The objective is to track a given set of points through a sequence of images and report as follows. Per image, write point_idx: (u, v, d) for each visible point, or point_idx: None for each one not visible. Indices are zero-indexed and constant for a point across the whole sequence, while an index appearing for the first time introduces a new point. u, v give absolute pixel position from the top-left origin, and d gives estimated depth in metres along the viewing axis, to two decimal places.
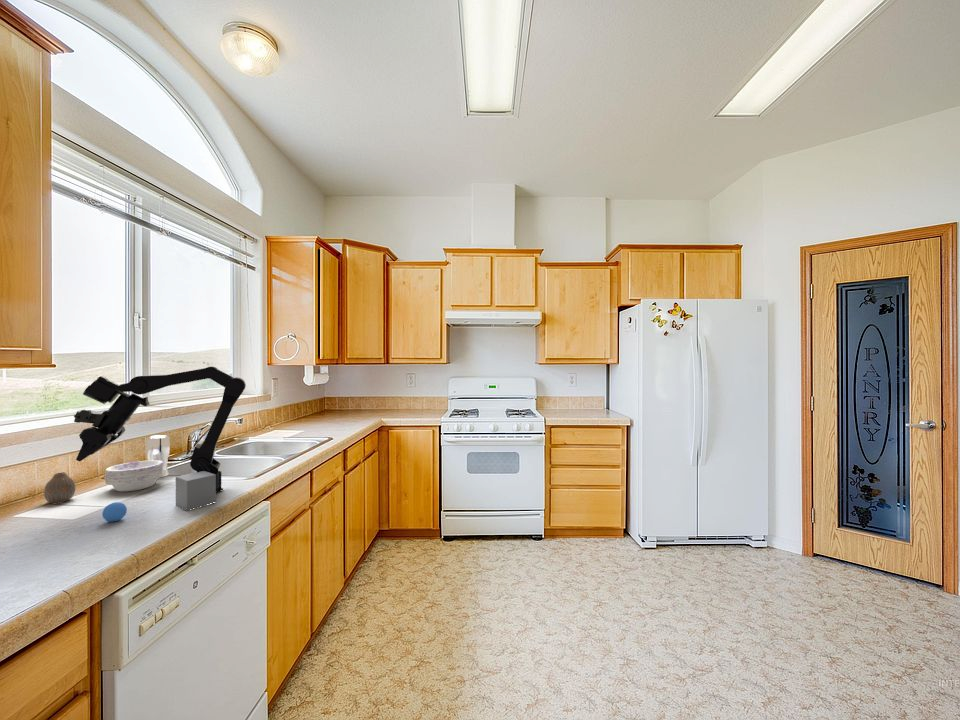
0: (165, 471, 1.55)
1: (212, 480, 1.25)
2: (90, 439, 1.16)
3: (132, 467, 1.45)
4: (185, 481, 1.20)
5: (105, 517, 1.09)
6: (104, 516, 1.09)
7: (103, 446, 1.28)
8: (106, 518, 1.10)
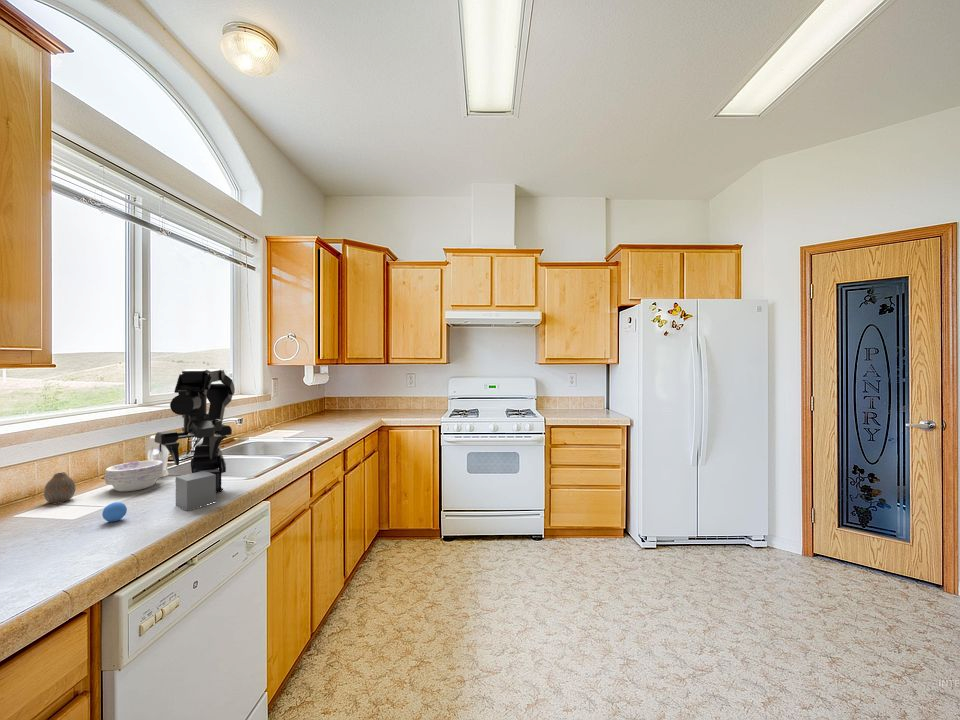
0: (165, 471, 1.55)
1: (212, 480, 1.25)
2: None
3: (132, 467, 1.45)
4: (185, 481, 1.20)
5: (105, 517, 1.09)
6: (104, 516, 1.09)
7: None
8: (106, 518, 1.10)
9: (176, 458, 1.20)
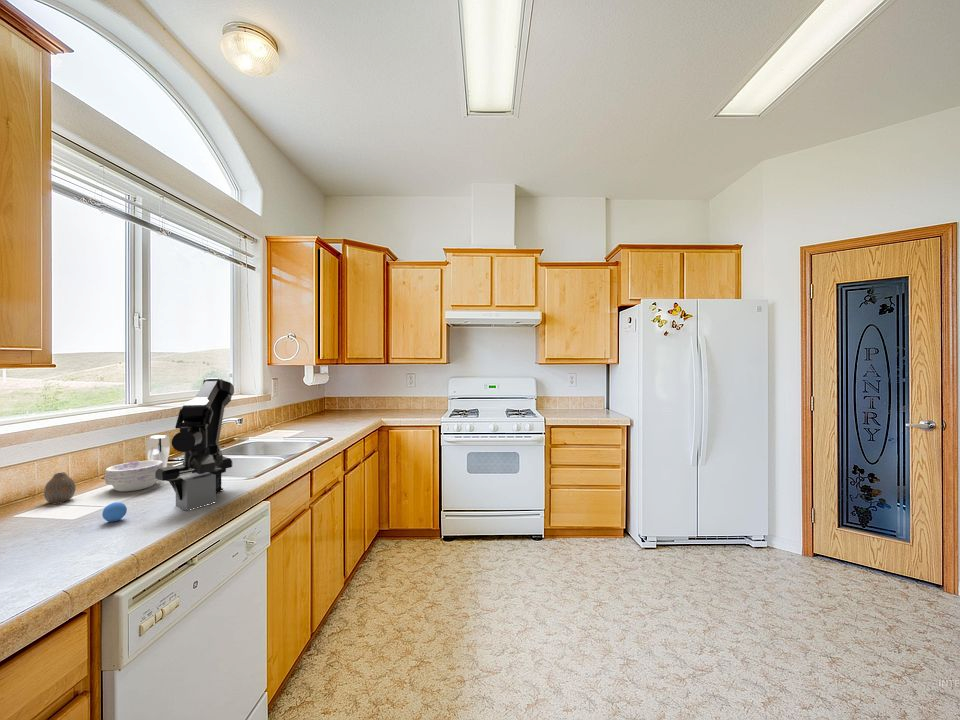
0: None
1: (212, 480, 1.25)
2: None
3: (132, 467, 1.45)
4: (185, 481, 1.20)
5: (105, 517, 1.09)
6: (104, 516, 1.09)
7: None
8: (106, 518, 1.10)
9: (179, 493, 1.20)
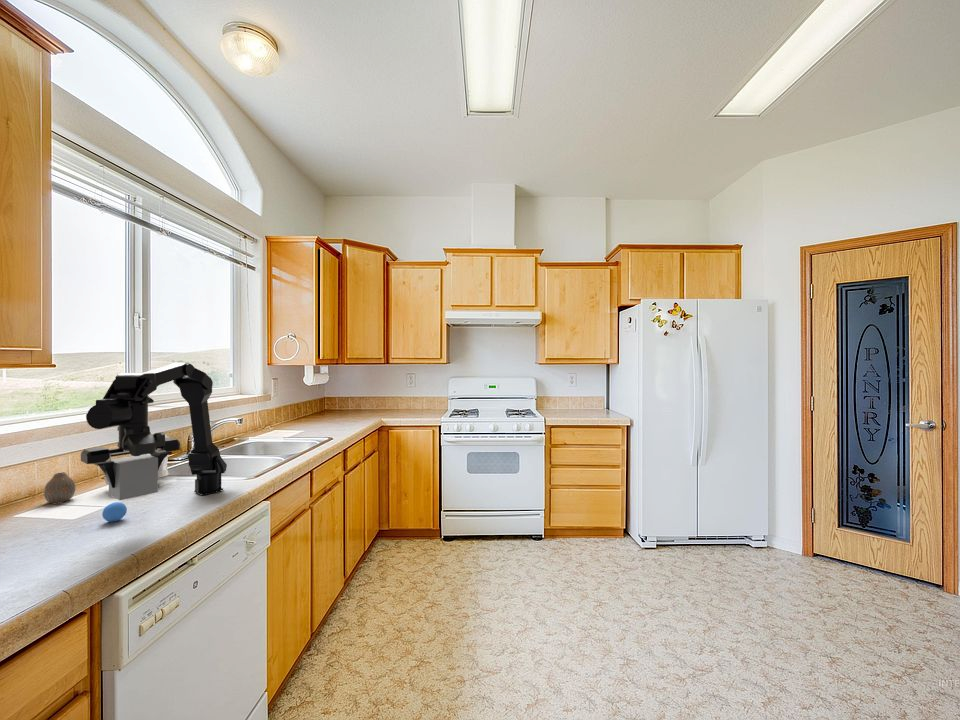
0: (165, 471, 1.55)
1: (153, 464, 1.05)
2: None
3: None
4: (118, 465, 1.00)
5: (105, 517, 1.09)
6: (104, 516, 1.09)
7: None
8: (106, 518, 1.10)
9: (111, 479, 1.00)
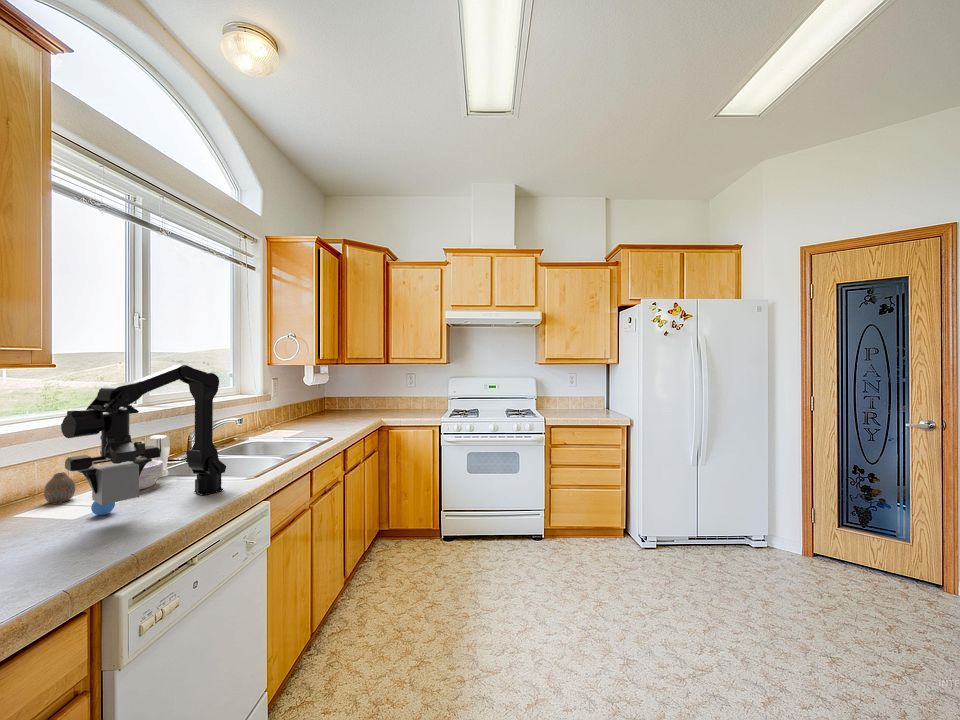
0: (165, 471, 1.55)
1: (134, 471, 1.11)
2: None
3: None
4: (100, 471, 1.06)
5: (91, 506, 1.15)
6: (91, 507, 1.15)
7: None
8: None
9: (93, 485, 1.07)
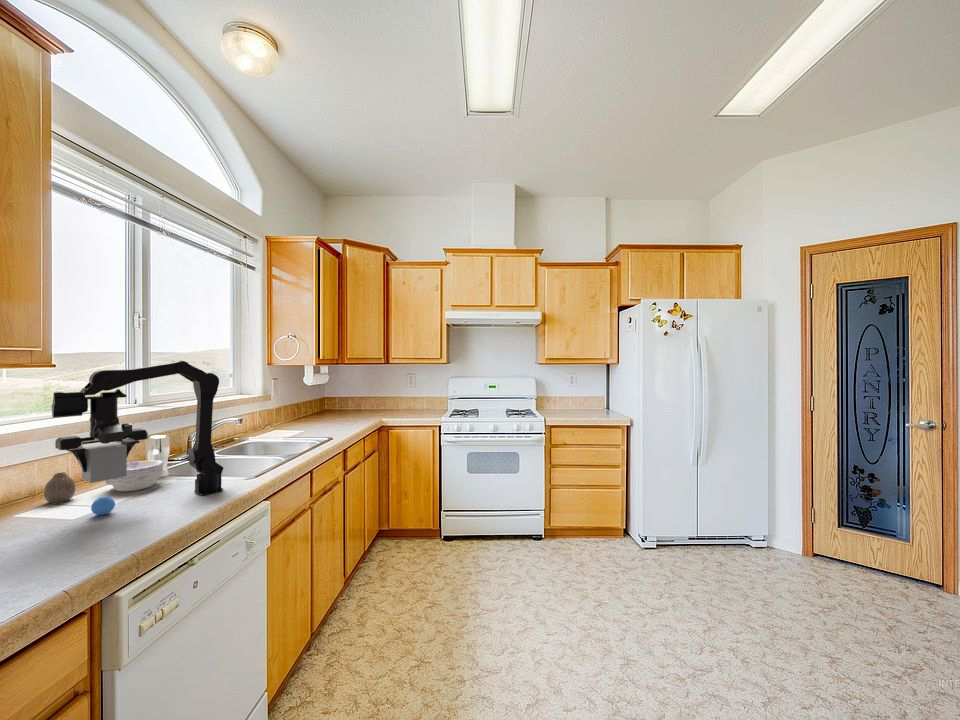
0: (165, 471, 1.55)
1: (122, 451, 1.17)
2: None
3: (132, 467, 1.45)
4: (89, 451, 1.12)
5: (91, 506, 1.15)
6: (91, 507, 1.15)
7: None
8: None
9: (83, 464, 1.12)
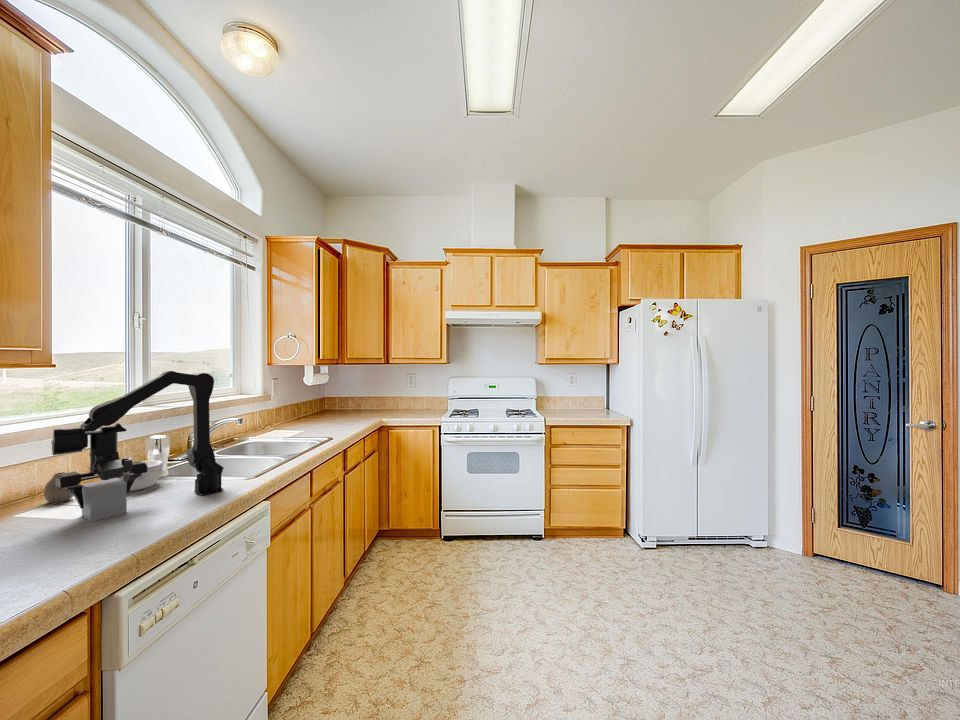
0: (165, 471, 1.55)
1: (122, 488, 1.17)
2: None
3: None
4: (89, 490, 1.12)
5: None
6: None
7: None
8: None
9: (80, 501, 1.12)
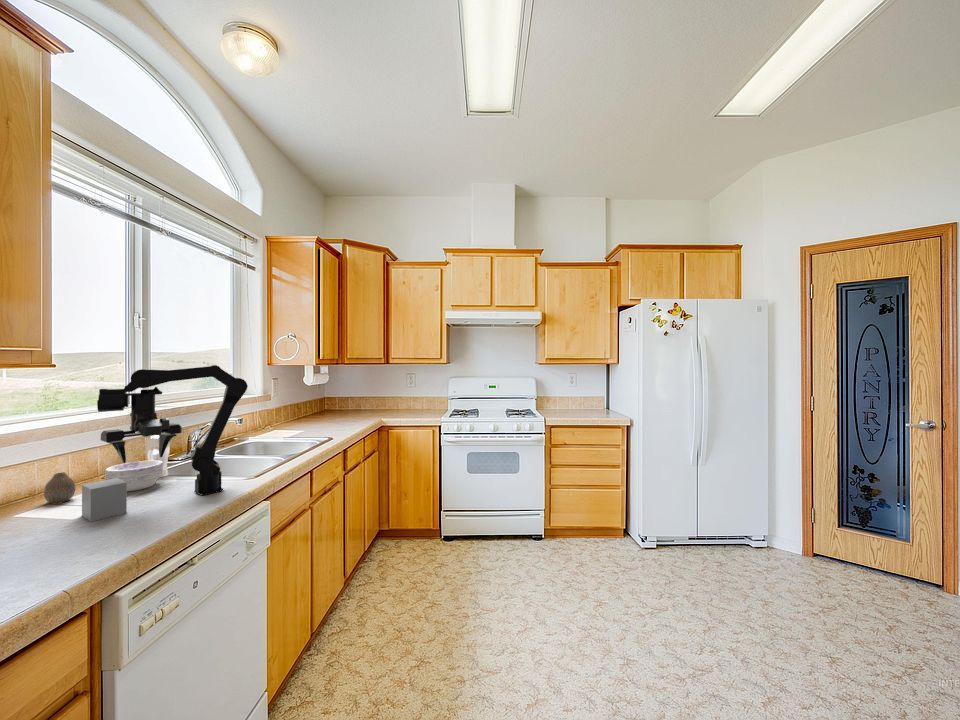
0: (165, 471, 1.55)
1: (122, 488, 1.17)
2: None
3: (132, 467, 1.45)
4: (89, 490, 1.12)
5: None
6: None
7: None
8: None
9: (122, 456, 1.22)
